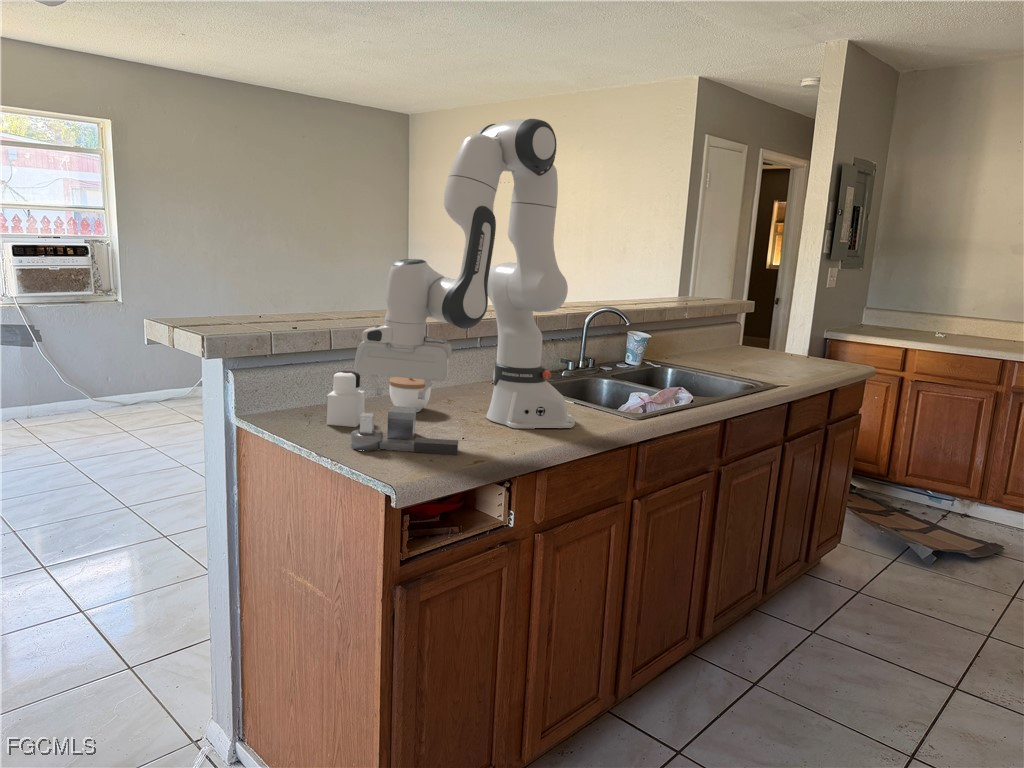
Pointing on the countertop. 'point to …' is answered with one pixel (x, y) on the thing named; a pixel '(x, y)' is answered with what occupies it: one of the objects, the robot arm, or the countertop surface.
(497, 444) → the countertop surface
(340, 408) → the medicine bottle
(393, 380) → the lidded jar
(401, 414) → the grey metal cube
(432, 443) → the ratchet
